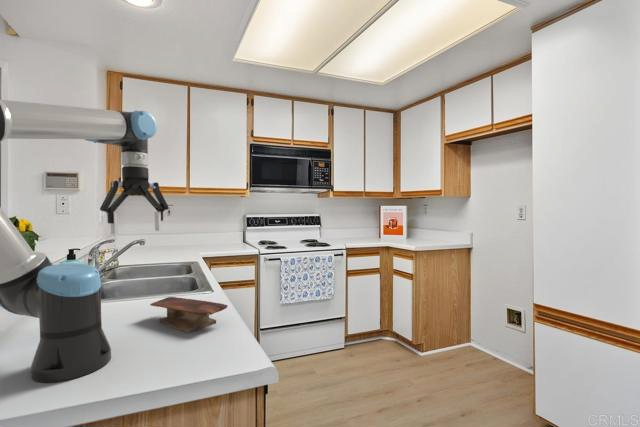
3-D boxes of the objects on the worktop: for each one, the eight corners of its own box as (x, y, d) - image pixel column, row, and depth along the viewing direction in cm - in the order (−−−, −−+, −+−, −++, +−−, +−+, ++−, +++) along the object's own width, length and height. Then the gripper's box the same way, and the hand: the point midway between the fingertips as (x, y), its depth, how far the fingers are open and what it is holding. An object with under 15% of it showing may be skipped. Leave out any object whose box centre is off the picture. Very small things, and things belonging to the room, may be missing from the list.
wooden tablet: (146, 301, 109) (172, 290, 118) (147, 307, 110) (173, 296, 118) (204, 313, 96) (229, 300, 105) (205, 321, 97) (230, 307, 105)
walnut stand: (186, 333, 99) (186, 316, 99) (159, 321, 109) (159, 306, 108) (216, 323, 107) (215, 307, 106) (188, 313, 116) (187, 299, 116)
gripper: (95, 162, 97) (98, 236, 98) (178, 168, 117) (179, 230, 117) (86, 164, 101) (88, 235, 102) (166, 170, 121) (168, 229, 122)
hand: (137, 232), depth 110 cm, fingers open, 13 cm apart
